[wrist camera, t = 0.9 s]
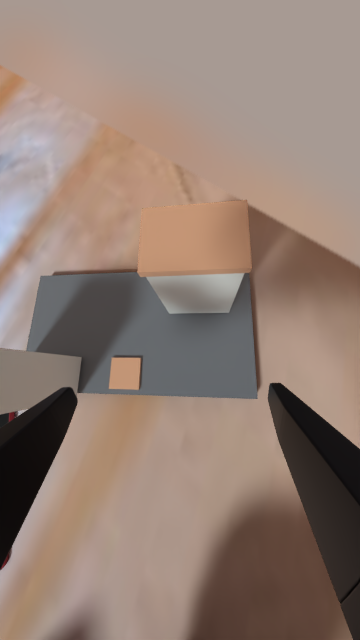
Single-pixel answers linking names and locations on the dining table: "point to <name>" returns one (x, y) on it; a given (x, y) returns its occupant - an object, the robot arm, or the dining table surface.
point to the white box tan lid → (195, 254)
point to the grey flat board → (144, 338)
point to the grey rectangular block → (34, 377)
